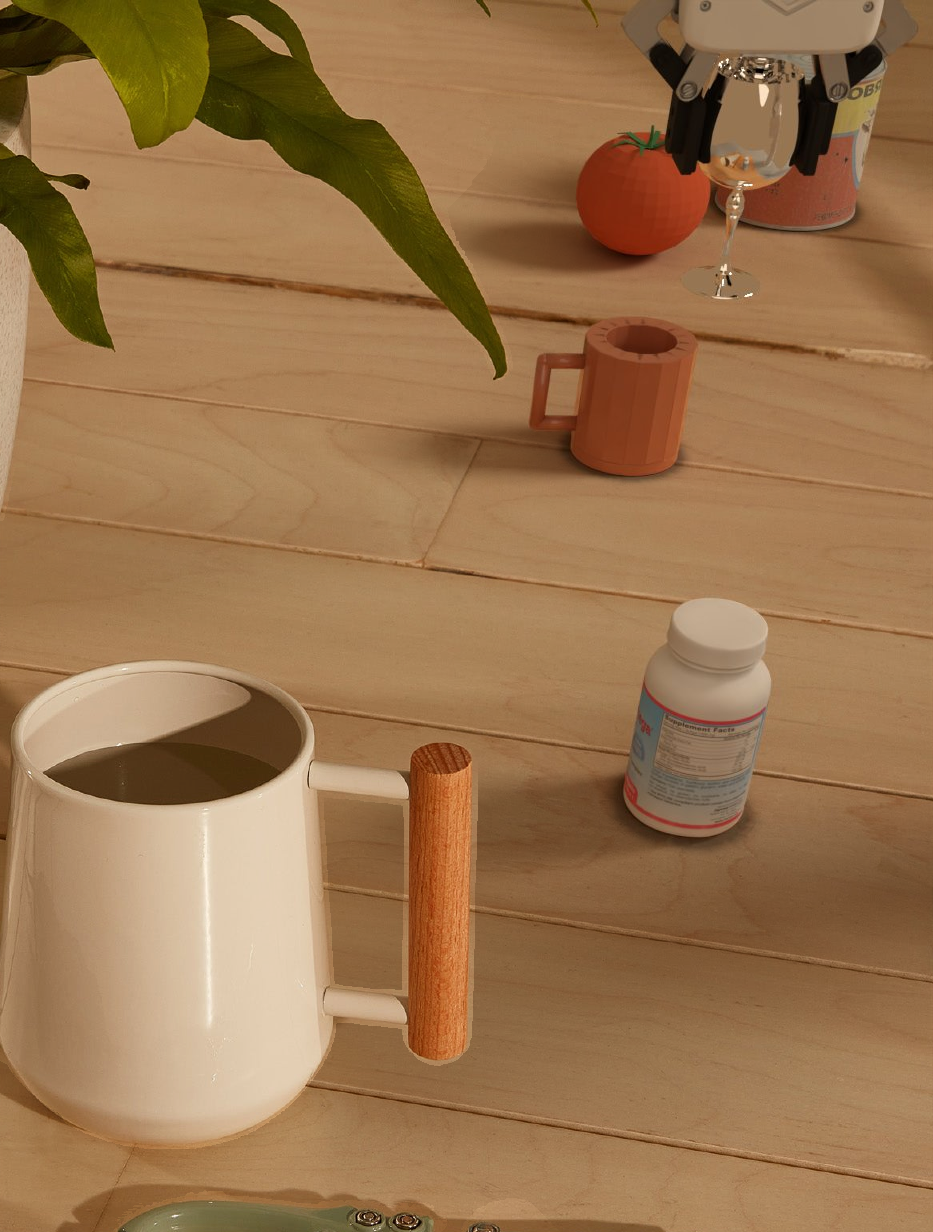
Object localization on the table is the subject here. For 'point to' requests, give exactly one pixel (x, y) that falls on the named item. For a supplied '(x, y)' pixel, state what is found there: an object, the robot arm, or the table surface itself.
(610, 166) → the tomato
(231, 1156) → the table surface
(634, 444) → the mug
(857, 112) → the canned food
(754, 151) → the wineglass
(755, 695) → the pill bottle
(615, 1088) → the table surface
